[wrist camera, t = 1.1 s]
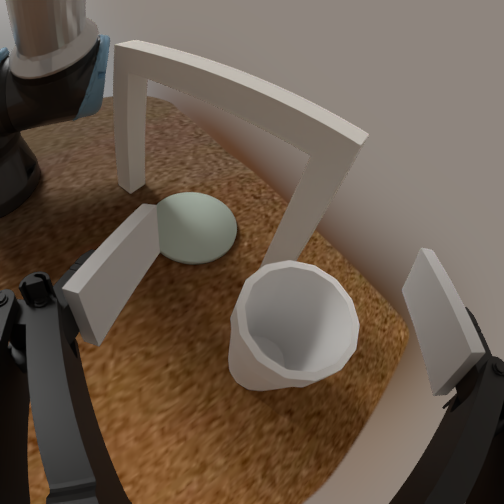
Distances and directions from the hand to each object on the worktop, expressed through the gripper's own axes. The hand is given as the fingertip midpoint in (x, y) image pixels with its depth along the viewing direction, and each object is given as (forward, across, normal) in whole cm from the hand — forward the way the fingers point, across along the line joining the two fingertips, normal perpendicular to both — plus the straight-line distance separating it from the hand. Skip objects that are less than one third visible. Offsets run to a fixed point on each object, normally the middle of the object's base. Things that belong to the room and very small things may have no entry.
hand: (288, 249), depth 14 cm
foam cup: (+7, 0, -20) cm, 21 cm away
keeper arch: (+22, -12, -12) cm, 27 cm away
